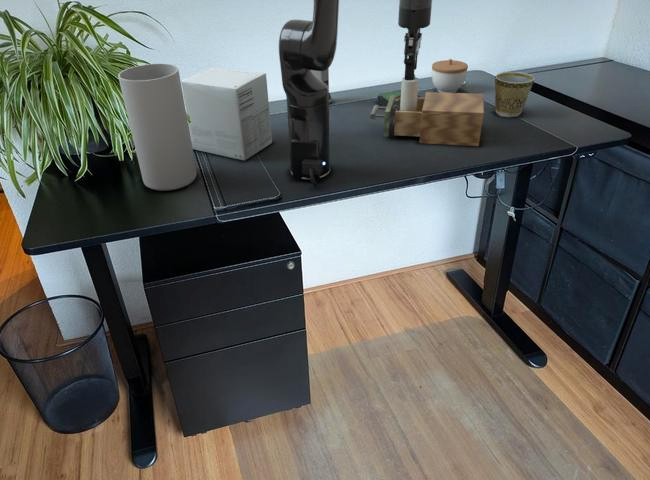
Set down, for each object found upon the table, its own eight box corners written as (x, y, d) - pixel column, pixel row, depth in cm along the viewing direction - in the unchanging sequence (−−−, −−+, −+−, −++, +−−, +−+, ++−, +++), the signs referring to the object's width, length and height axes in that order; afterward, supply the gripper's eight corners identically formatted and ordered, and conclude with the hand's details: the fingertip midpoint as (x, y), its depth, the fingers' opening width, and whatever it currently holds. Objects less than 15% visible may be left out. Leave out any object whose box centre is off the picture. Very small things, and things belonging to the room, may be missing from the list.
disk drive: (431, 112, 157) (406, 97, 168) (432, 103, 155) (407, 87, 167) (399, 118, 154) (376, 102, 166) (399, 108, 153) (376, 92, 164)
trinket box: (427, 94, 169) (430, 63, 163) (431, 84, 177) (434, 54, 172) (463, 96, 166) (467, 64, 161) (465, 85, 174) (469, 55, 169)
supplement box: (273, 142, 144) (268, 72, 134) (245, 162, 135) (236, 88, 125) (221, 132, 152) (212, 65, 141) (191, 150, 143) (179, 80, 132)
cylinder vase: (199, 167, 134) (182, 62, 119) (193, 190, 124) (173, 79, 109) (149, 170, 134) (125, 65, 119) (138, 193, 124) (111, 82, 109)
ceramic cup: (519, 122, 148) (527, 84, 142) (484, 115, 153) (489, 79, 147) (535, 107, 156) (543, 71, 150) (501, 101, 161) (507, 67, 155)
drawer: (367, 136, 143) (368, 110, 139) (374, 118, 153) (375, 94, 149) (436, 139, 138) (439, 113, 134) (439, 121, 148) (442, 96, 144)
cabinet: (419, 143, 140) (422, 110, 134) (423, 123, 150) (426, 91, 145) (478, 146, 136) (483, 112, 131) (478, 125, 147) (483, 93, 142)
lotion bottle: (414, 128, 143) (418, 74, 134) (398, 127, 144) (401, 73, 135) (415, 122, 146) (420, 69, 138) (399, 121, 147) (403, 69, 139)
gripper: (402, -2, 134) (398, 66, 144) (395, 10, 123) (392, 83, 133) (433, -2, 132) (427, 66, 142) (429, 10, 121) (423, 84, 131)
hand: (410, 74), depth 137 cm, fingers open, 8 cm apart
